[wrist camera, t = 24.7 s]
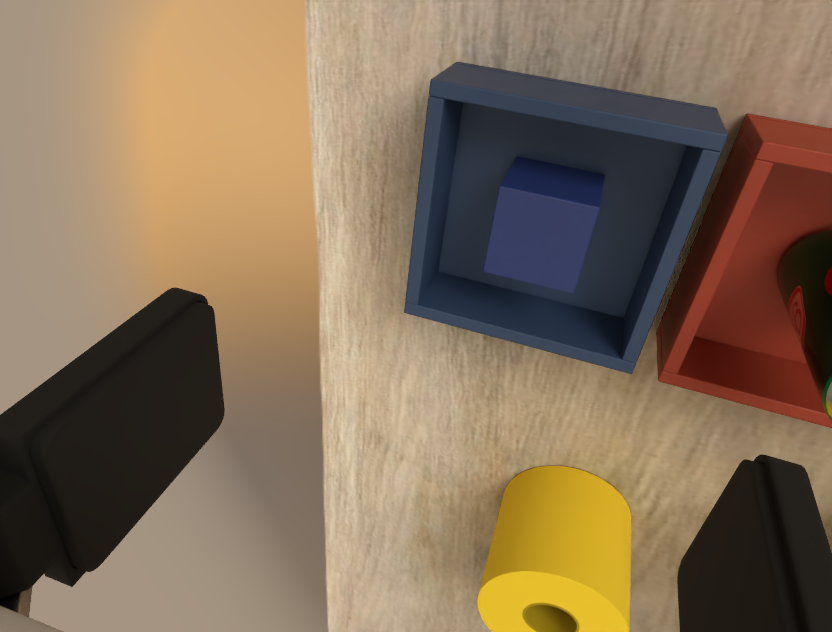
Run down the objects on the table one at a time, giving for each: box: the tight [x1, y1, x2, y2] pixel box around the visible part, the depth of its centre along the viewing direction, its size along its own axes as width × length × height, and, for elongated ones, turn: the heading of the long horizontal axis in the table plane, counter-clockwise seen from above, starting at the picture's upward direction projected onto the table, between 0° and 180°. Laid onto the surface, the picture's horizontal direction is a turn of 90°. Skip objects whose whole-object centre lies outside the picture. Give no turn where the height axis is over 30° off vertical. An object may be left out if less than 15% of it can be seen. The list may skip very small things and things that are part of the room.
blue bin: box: [404, 62, 728, 374], centre depth 33 cm, size 14×14×5 cm
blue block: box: [483, 156, 605, 294], centre depth 33 cm, size 5×5×5 cm
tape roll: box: [478, 466, 632, 632], centre depth 44 cm, size 10×10×9 cm
